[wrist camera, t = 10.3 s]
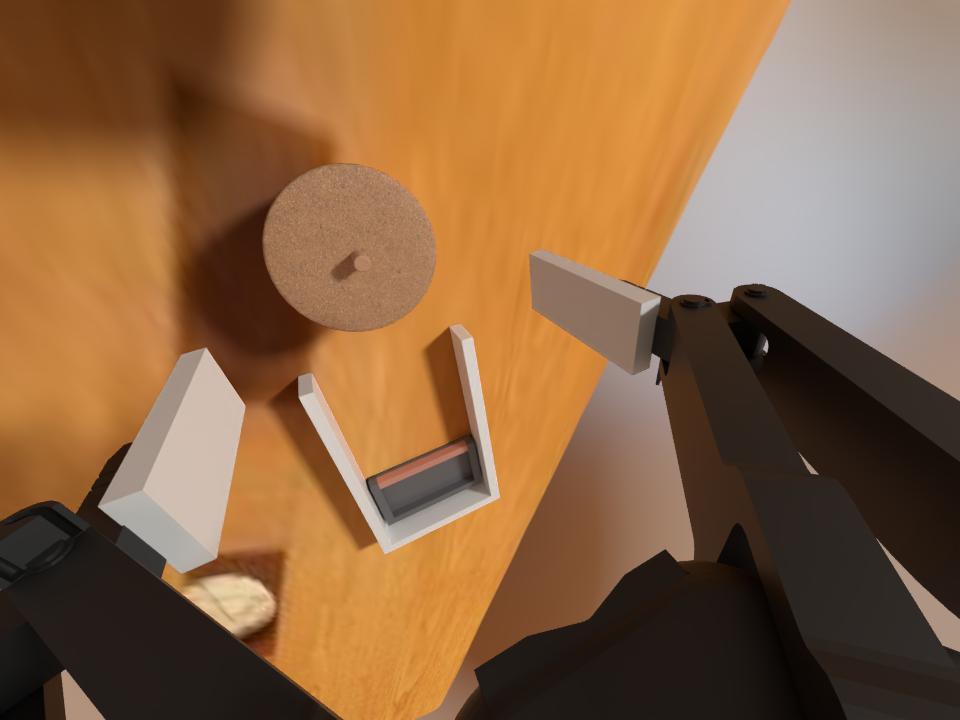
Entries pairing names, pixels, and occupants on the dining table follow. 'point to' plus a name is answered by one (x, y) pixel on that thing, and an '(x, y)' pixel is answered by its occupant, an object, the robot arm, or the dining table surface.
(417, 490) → the tray
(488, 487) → the channel
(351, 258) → the lidded jar
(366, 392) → the dining table surface
